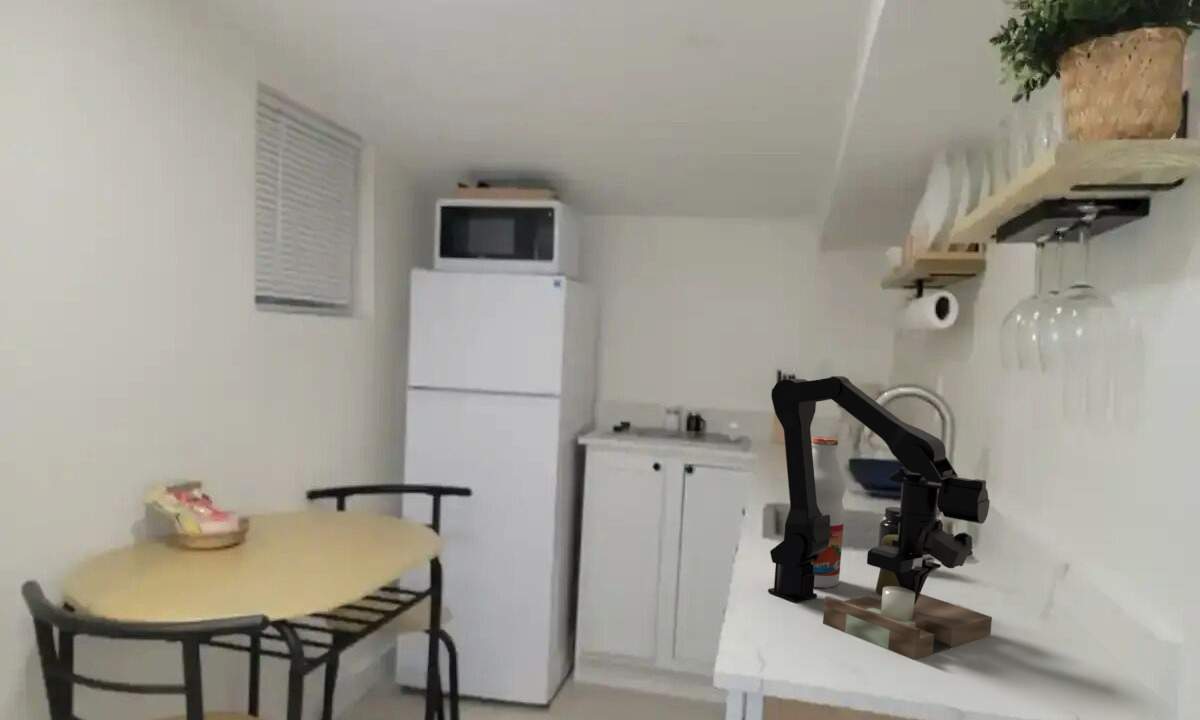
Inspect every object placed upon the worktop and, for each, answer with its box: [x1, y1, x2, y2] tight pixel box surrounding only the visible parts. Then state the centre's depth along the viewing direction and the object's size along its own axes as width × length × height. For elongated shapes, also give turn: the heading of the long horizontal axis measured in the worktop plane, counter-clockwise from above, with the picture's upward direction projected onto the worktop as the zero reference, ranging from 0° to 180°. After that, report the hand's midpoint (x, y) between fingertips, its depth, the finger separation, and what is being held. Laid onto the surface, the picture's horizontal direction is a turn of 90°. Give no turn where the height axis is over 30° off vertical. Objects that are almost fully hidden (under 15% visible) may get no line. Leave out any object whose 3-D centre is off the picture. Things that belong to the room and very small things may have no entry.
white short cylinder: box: [881, 586, 915, 621], centre depth 140 cm, size 5×5×4 cm
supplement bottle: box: [877, 506, 900, 547], centre depth 183 cm, size 7×7×12 cm
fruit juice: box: [810, 435, 847, 589], centre depth 167 cm, size 9×9×28 cm
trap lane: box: [822, 593, 993, 660], centre depth 143 cm, size 17×22×4 cm
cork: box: [874, 535, 901, 596], centre depth 162 cm, size 6×6×11 cm
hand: (911, 604), depth 143 cm, fingers closed
